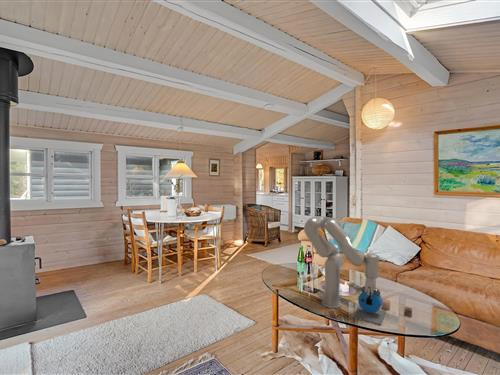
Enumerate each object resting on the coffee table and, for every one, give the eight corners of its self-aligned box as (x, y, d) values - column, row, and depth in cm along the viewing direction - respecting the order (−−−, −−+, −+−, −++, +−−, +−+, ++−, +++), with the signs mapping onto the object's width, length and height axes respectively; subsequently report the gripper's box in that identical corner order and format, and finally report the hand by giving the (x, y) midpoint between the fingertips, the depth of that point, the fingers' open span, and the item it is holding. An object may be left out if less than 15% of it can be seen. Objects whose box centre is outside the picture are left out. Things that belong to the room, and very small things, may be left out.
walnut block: (404, 315, 184) (404, 309, 184) (404, 312, 188) (405, 306, 187) (411, 317, 182) (411, 310, 182) (411, 314, 185) (412, 308, 185)
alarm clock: (381, 312, 183) (383, 288, 183) (379, 316, 178) (381, 291, 177) (359, 306, 191) (361, 283, 190) (357, 310, 186) (358, 286, 185)
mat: (352, 317, 180) (352, 316, 179) (359, 305, 196) (359, 304, 196) (380, 325, 171) (380, 324, 171) (386, 312, 188) (386, 310, 188)
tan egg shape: (380, 308, 193) (381, 301, 192) (382, 305, 197) (382, 298, 197) (389, 310, 190) (389, 303, 190) (390, 307, 194) (390, 300, 194)
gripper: (367, 269, 193) (366, 296, 194) (362, 276, 178) (360, 306, 179) (380, 271, 189) (378, 299, 190) (375, 279, 174) (373, 309, 175)
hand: (370, 302), depth 184 cm, fingers closed on alarm clock, 6 cm apart
